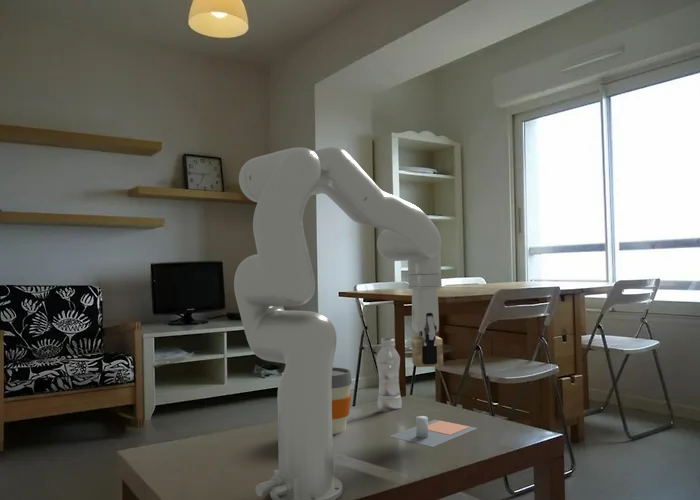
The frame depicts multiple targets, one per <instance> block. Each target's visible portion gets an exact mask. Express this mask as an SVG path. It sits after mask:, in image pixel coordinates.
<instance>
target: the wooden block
mask: <svg viewBox="0 0 700 500" xmlns="http://www.w3.org/2000/svg"><path fill="white" fill-rule="evenodd" d="M422 346H424V345H423V336H419V337H418V336H411V353H412V354H411V357H412V358H411V359H412V361H411V362H412V364H413V365H414V366H415V367H416V368H430V367H434V368H435V367H444V347H443V338H441V337H439V336H438V335H436V346H437V364H423V358H422Z"/></svg>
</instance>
